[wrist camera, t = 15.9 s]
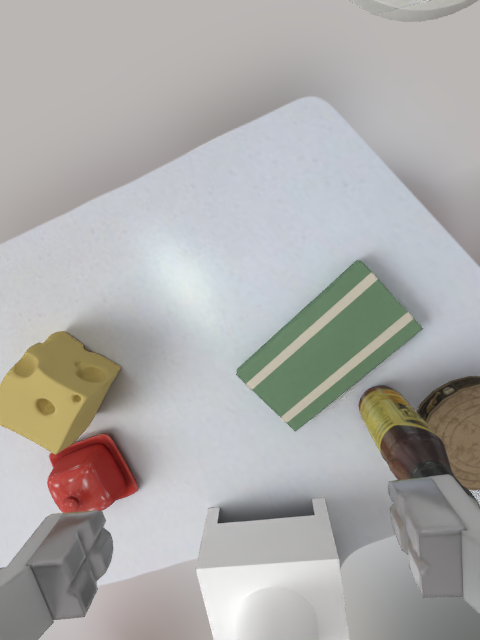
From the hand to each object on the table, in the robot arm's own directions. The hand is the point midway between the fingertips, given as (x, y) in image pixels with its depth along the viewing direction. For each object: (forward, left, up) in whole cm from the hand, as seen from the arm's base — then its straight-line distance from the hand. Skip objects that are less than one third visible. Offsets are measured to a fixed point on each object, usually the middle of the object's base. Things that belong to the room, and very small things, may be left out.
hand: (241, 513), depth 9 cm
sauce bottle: (-14, +18, -36) cm, 42 cm away
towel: (-8, +8, -36) cm, 37 cm away
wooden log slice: (-27, +23, -36) cm, 50 cm away
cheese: (+28, +7, -36) cm, 46 cm away
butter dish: (+30, +23, -36) cm, 52 cm away
